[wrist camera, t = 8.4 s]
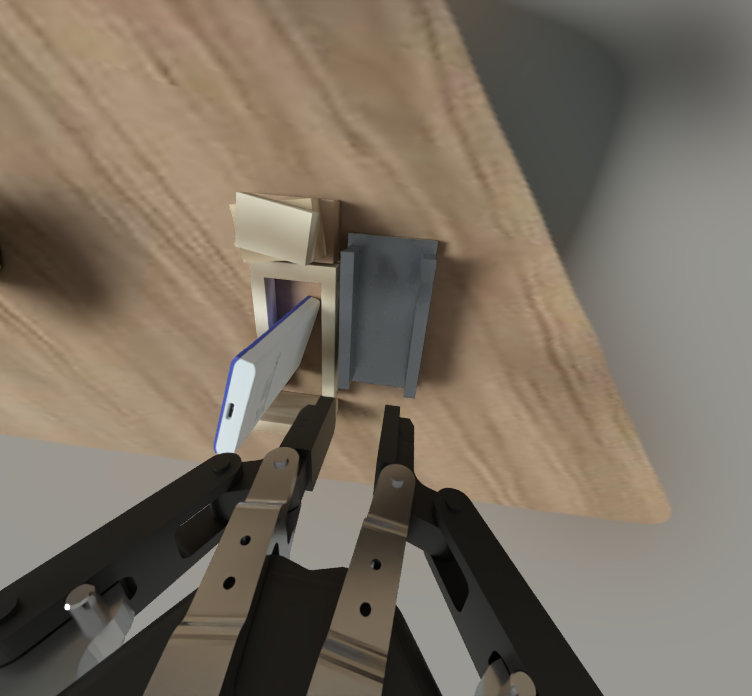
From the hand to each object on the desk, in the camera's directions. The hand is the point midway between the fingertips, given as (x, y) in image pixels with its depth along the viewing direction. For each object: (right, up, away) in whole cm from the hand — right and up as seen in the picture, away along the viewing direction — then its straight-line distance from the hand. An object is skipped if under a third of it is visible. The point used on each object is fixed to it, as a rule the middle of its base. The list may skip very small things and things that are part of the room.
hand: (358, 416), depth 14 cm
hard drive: (-6, +5, +15) cm, 17 cm away
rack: (-6, +5, +15) cm, 17 cm away
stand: (+2, +6, +13) cm, 14 cm away
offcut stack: (-6, +13, +10) cm, 18 cm away
